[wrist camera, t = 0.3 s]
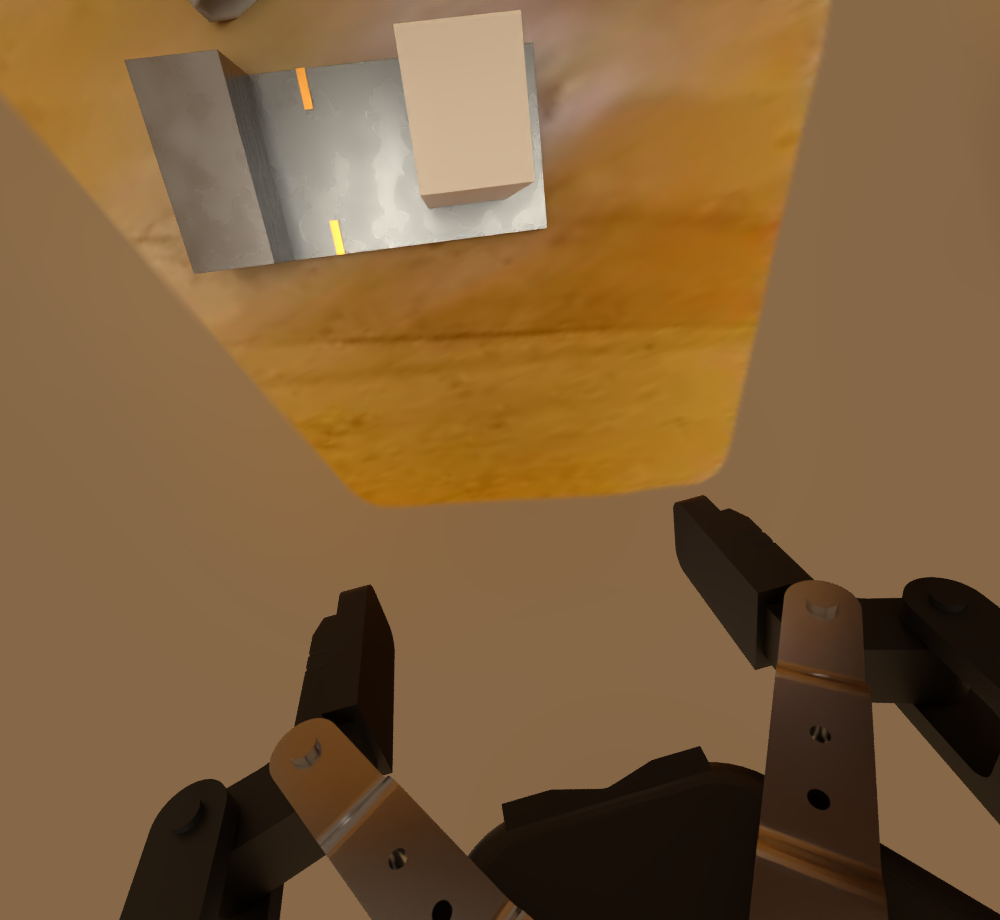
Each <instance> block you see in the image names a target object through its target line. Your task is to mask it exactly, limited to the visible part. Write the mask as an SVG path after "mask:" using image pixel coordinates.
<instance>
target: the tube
mask: <svg viewBox="0 0 1000 920" xmlns="http://www.w3.org/2000/svg"><path fill="white" fill-rule="evenodd" d="M189 1H190V3H191V4H192V6H193V7H194V8H195V9H197V10H198V11H199V12H200V13H201V14H202V15H203V16H204V17H205V18H207V19H208V20H209V21H210V22H217V21H225V20H233V19H237V18H238V17H239V16H240V15H241V14H242V13H244V12H245V11H246V10H247V9H248V8H249V7H250V6H252V5H253V4H254V3H255V2H256V1H257V0H189Z"/></svg>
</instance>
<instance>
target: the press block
mask: <svg viewBox="0 0 1000 920" xmlns="http://www.w3.org/2000/svg"><path fill="white" fill-rule="evenodd" d="M393 26H394V33H395V39H396V45H397V51H398V58H399V64H400V70H401V77H402V83H403V89H404V96H405V102H406V108H407V115H408V121H409V127H410V133H411V140H412V146H413V152H414V159H415V165H416V171H417V178H418V184H419V190H420V196H421V197H422V199H423V201H424V202H425V204H426V206H427V207H428V209H429V208H437V207H445V206H453V205H461V204H469V203H477V202H485V201H493V200H501V199H507V198H509V197H510V196H512V195H513V194H515V193H517V192H518V191H520V190H522V189H523V188H525V187H526V186H528V185H530V184H531V183H533V182H535V178H534V166H533V153H532V141H531V129H530V117H529V104H528V92H527V80H526V68H525V55H524V43H523V31H522V19H521V10H514V11H505V12H496V13H487V14H478V15H469V16H460V17H451V18H442V19H433V20H424V21H415V22H406V23H397V24H393Z"/></svg>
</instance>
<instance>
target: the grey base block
mask: <svg viewBox="0 0 1000 920" xmlns="http://www.w3.org/2000/svg"><path fill="white" fill-rule="evenodd" d="M524 55H525V68H526V80H527V92H528V104H529V117H530V129H531V141H532V153H533V166H534V178H535V182H533V183H531V184H530V185H528V186H526V187H525V188H523V189H522V190H520V191H518V192H517V193H515V194H513V195H512V196H510V197H509V198H507V199H501V200H493V201H485V202H477V203H469V204H461V205H453V206H445V207H437V208H429V209H428V207H427V206H426V204H425V202H424V201H423V199H422V197H421V196H420V190H419V184H418V178H417V171H416V165H415V159H414V152H413V146H412V140H411V133H410V127H409V121H408V115H407V108H406V102H405V96H404V89H403V83H402V77H401V70H400V64H399V58H393V59H384V60H375V61H366V62H357V63H349V64H340V65H331V66H322V67H314V68H295V69H296V70H287V71H278V72H270V73H261V74H252V75H247V74H246V73H245V72H244V71H243V70H241V69H240V68H239V67H238V66H236V65H235V64H234V63H233V62H232V61H230V60H229V59H228V58H227V57H225V56H224V55H223V54H222V53H221V52H219V51H218V50H210V51H201V52H192V53H183V54H174V55H165V56H156V57H147V58H138V59H129V60H125V63H126V66H127V69H128V72H129V76H130V79H131V82H132V85H133V88H134V91H135V94H136V97H137V100H138V103H139V106H140V109H141V112H142V115H143V118H144V122H145V125H146V128H147V131H148V134H149V137H150V140H151V143H152V146H153V149H154V152H155V155H156V158H157V161H158V164H159V168H160V171H161V174H162V177H163V180H164V183H165V186H166V189H167V192H168V195H169V198H170V201H171V204H172V207H173V210H174V214H175V217H176V220H177V223H178V226H179V229H180V232H181V235H182V238H183V241H184V244H185V247H186V250H187V253H188V256H189V260H190V263H191V266H192V269H193V272H194V274H197V273H205V272H213V271H221V270H228V269H236V268H244V267H252V266H260V265H267V264H275V263H281V262H288V261H294V260H301V259H309V258H317V257H325V256H332V255H340V254H348V253H356V252H364V251H371V250H379V249H387V248H395V247H402V246H410V245H418V244H426V243H434V242H441V241H449V240H457V239H465V238H472V237H480V236H488V235H496V234H504V233H511V232H519V231H527V230H535V229H542V228H547V222H546V209H545V196H544V182H543V169H542V156H541V143H540V130H539V117H538V104H537V90H536V77H535V64H534V51H533V43H524Z"/></svg>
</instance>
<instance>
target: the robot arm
mask: <svg viewBox="0 0 1000 920" xmlns="http://www.w3.org/2000/svg"><path fill="white" fill-rule="evenodd" d="M673 512H674V530H675V545H676V554H677V557H678V560H679V563H680V566H681V568H682V570H683V571H684V573H685V574H686V575H687V577H688V578H689V580H690V581H691V582H692V584H693V585H694V587H695V588H696V589H697V591H698V592H699V593H700V594H701V596H702V598H703V599H704V600H705V602H706V603H707V604H708V606H709V607H710V608H711V610H712V611H713V612H714V614H715V615H716V617H717V618H718V619H719V621H720V622H721V624H722V625H723V626H724V628H725V629H726V631H727V632H728V633H729V635H730V636H731V637H732V639H733V640H734V642H735V643H736V644H737V645H738V647H739V648H740V650H741V651H742V653H743V654H744V655H745V657H746V658H747V659H748V661H749V662H750V663H751V665H752V666H753V668H754V669H755V670H757V669H760V668H764V667H767V666H771V665H772V666H773V667H774V669H775V670H776V673H775V682H774V691H773V702H772V711H771V720H770V730H769V739H768V750H767V759H766V768H765V775H763V774H761V773H758V772H757V771H754V770H751V769H748V768H745V767H742V766H738V765H733V764H728V763H719V762H708V760H707V758H706V756H705V754H704V753H703V751H702V749H701V747H700V746H699V747H695V748H692V749H689V750H685V751H682V752H678V753H675V754H672V755H668V756H664V757H661V758H658V759H655V760H651V761H650V762H648V763H647V764H645V765H644V766H642V767H640V768H639V769H637V770H636V771H634V772H633V773H631V774H629V775H628V776H626V777H625V778H623V779H621V780H620V781H618V782H617V783H615V784H613V785H612V786H610V787H608V788H604V789H569V790H568V789H567V790H566V789H565V790H549V791H545V792H542V793H538V794H535V795H531V796H528V797H524V798H521V799H518V800H514V801H511V802H507V803H504V804H502V810H503V816H504V822H503V823H501V824H500V825H498V826H497V827H496V828H494V829H493V830H492V831H491V832H489V833H488V834H487V835H486V836H485V837H484V838H483V839H482V840H481V841H480V842H479V843H478V844H477V845H476V846H475V847H474V849H473V850H472V851H471V853H470V854H469V855H468V856H467V855H466V854H465V853H464V852H463V851H462V850H461V849H460V848H459V847H458V846H457V845H456V844H455V842H454V841H453V840H452V839H451V838H450V837H449V836H448V835H447V834H446V833H445V832H444V831H443V830H442V829H441V828H440V827H439V826H438V825H437V824H436V823H435V822H434V821H433V819H432V818H430V816H429V815H428V814H427V813H426V812H425V811H424V810H423V809H422V808H421V807H420V806H419V805H418V804H417V803H416V802H415V801H414V800H413V799H412V797H411V796H409V794H408V793H407V792H406V791H405V790H404V789H403V788H402V787H401V786H400V785H399V784H398V783H397V782H396V781H395V780H394V779H393V778H391V777H390V776H388V777H387V778H385V777H384V776H383V775H386V774H390V773H392V766H393V713H394V711H393V710H394V659H395V656H394V655H395V649H394V641H393V636H392V632H391V629H390V626H389V624H388V621H387V619H386V616H385V614H384V612H383V609H382V607H381V605H380V602H379V600H378V598H377V595H376V593H375V591H374V589H373V587H372V586H371V585H366V586H363V587H359V588H355V589H351V590H348V591H344V592H341V593H340V596H339V602H338V608H337V614H336V615H333V616H329V617H326V618H324V619H323V620H322V622H321V623H320V625H319V627H318V628H317V630H316V631H315V633H314V634H313V637H312V642H311V647H310V652H309V654H310V657H308V661H307V667H306V668H307V671H306V672H305V677H304V682H303V686H302V691H301V696H300V701H299V706H298V711H297V716H296V721H295V726H294V728H292V729H291V730H290V731H289V732H287V733H286V734H285V735H284V736H283V737H282V739H281V740H280V741H279V742H278V744H277V746H276V747H275V749H274V751H273V753H272V756H271V758H270V762H269V763H268V764H267V765H265V766H264V767H262V768H260V769H259V770H257V771H256V772H254V773H252V774H250V775H249V776H247V777H246V778H244V779H242V780H241V781H239V782H237V783H235V784H233V785H232V786H230V787H228V788H227V789H226V787H225V786H224V785H223V784H222V783H221V782H220V781H217V780H214V779H205V780H201V781H198V782H195V783H193V784H191V785H189V786H187V787H185V788H184V789H183V790H181V791H180V792H179V793H177V794H176V795H175V796H174V797H173V798H171V800H169V801H168V803H167V804H166V805H165V806H164V807H163V808H162V810H161V811H160V812H159V814H158V815H157V817H156V819H155V820H154V822H153V824H152V827H151V829H150V832H149V835H148V838H147V841H146V843H145V846H144V850H143V852H142V855H141V858H140V861H139V864H138V867H137V870H136V873H135V876H134V879H133V882H132V884H131V887H130V890H129V893H128V896H127V899H126V902H125V905H124V908H123V911H122V914H121V917H120V920H279V919H280V911H281V903H282V895H283V886H284V882H286V881H287V880H289V879H291V878H292V877H293V876H295V875H296V874H298V873H299V872H301V871H303V870H304V869H305V868H307V867H308V866H310V865H311V864H313V863H314V862H316V861H317V860H319V859H320V858H322V857H323V856H325V855H327V857H328V858H329V860H330V861H331V862H332V864H333V865H334V867H335V868H336V870H337V871H338V872H339V874H340V875H341V877H342V878H343V880H344V881H345V882H346V884H347V885H348V887H349V888H350V889H351V891H352V892H353V894H354V895H355V897H356V898H357V899H358V901H359V902H360V904H361V905H362V906H363V908H364V909H365V911H366V912H367V914H368V915H369V917H370V918H371V919H372V920H1000V914H999V913H997V912H995V911H993V910H992V909H990V908H988V907H987V906H985V905H983V904H981V903H980V902H978V901H977V900H975V899H973V898H971V897H970V896H968V895H967V894H965V893H963V892H962V891H960V890H958V889H957V888H955V887H953V886H952V885H950V884H948V883H946V882H945V881H943V880H941V879H940V878H938V877H936V876H935V875H933V874H931V873H930V872H928V871H926V870H925V869H923V868H921V867H920V866H918V865H916V864H915V863H913V862H911V861H910V860H908V859H906V858H905V857H903V856H901V855H899V854H898V853H896V852H894V851H893V850H891V849H889V848H888V847H886V846H884V845H883V844H881V843H880V838H879V820H878V802H877V785H876V767H875V749H874V732H873V714H872V702H875V703H895V704H896V705H897V707H898V708H899V709H900V710H901V711H902V712H903V713H904V715H905V716H906V717H907V718H908V719H909V720H910V722H911V723H912V724H913V725H914V726H915V727H916V728H917V730H918V731H919V732H920V733H921V734H922V735H923V737H924V738H925V739H926V740H927V741H928V742H929V743H930V744H931V746H932V747H933V748H934V749H935V750H936V751H937V753H938V754H939V755H940V756H941V757H942V758H943V760H944V761H945V762H946V763H947V764H948V765H949V766H950V768H951V769H952V770H953V771H954V772H955V773H956V775H957V776H958V777H959V778H960V779H961V780H962V782H963V783H964V784H965V785H966V786H967V787H968V788H969V790H970V791H971V792H972V793H973V794H974V795H975V796H976V797H977V799H978V800H979V801H980V802H981V803H982V805H983V806H984V807H985V808H986V809H987V810H988V812H989V813H990V814H991V815H992V816H993V817H994V818H995V820H996V821H997V822H998V823H999V824H1000V608H999V607H998V606H997V605H995V604H994V603H993V602H991V601H990V600H989V599H987V598H986V597H985V596H984V595H982V594H981V593H979V592H978V591H977V590H975V589H973V588H971V587H969V586H967V585H965V584H962V583H960V582H957V581H953V580H949V579H944V578H936V577H926V578H919V579H916V580H913V581H911V582H909V583H908V584H907V585H906V586H905V588H904V591H903V596H902V598H876V599H875V598H873V599H865V598H862V599H861V598H856V597H855V596H854V595H853V594H852V593H851V592H849V591H848V590H846V589H844V588H843V587H841V586H838V585H836V584H833V583H830V582H826V581H819V580H814V579H813V578H811V577H810V576H809V575H808V574H807V573H806V572H805V571H804V570H803V569H802V568H801V567H800V566H799V565H798V564H797V563H796V562H795V561H794V560H793V559H791V557H789V556H788V555H787V554H786V553H785V552H784V551H783V550H782V549H781V548H780V547H779V546H778V545H777V544H776V543H773V541H772V539H771V538H770V537H769V536H768V535H767V534H766V533H763V532H762V530H761V529H760V528H759V527H758V526H757V525H756V524H755V523H754V522H753V521H752V520H751V519H750V518H749V517H747V516H745V515H743V514H740V513H738V512H736V511H734V510H732V509H725V510H722V511H720V510H719V509H718V508H717V507H716V506H715V505H714V504H713V503H712V502H711V501H710V500H709V499H708V498H707V497H706V496H704V495H701V496H698V497H694V498H691V499H687V500H683V501H679V502H676V503H675V504H674V507H673Z"/></svg>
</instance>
